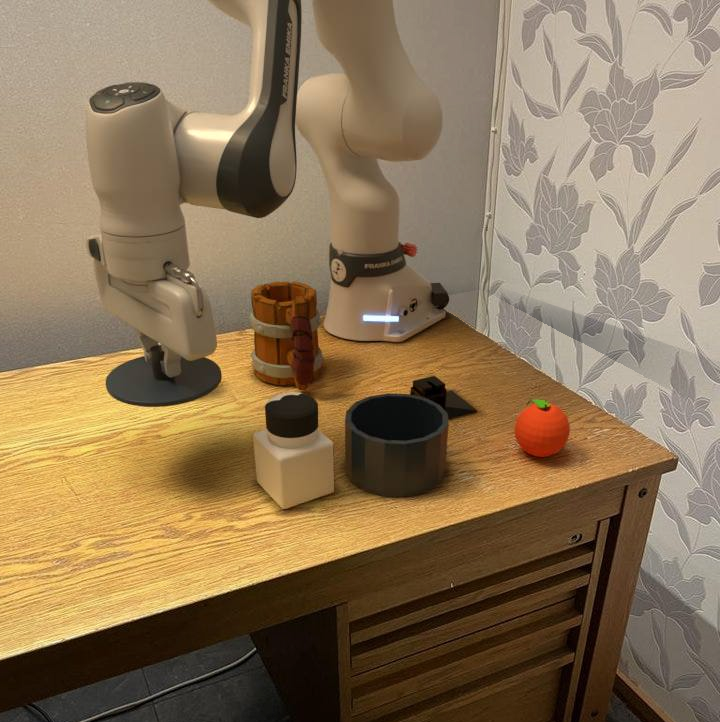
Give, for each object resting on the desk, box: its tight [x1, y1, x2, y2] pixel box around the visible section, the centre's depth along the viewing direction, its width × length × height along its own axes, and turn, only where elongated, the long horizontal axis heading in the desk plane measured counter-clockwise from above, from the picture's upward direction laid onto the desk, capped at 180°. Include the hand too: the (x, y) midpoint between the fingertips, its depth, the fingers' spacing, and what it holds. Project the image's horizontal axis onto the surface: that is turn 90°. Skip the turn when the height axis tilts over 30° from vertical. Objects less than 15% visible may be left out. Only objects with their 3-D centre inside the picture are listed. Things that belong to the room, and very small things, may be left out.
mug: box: [249, 280, 325, 391], centre depth 118 cm, size 11×16×15 cm, turn 20°
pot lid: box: [105, 345, 223, 408], centre depth 94 cm, size 13×13×5 cm
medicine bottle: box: [252, 391, 335, 510], centre depth 94 cm, size 7×7×12 cm
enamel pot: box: [344, 392, 450, 498], centre depth 98 cm, size 12×12×8 cm
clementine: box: [514, 398, 571, 458], centre depth 102 cm, size 8×7×7 cm
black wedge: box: [409, 375, 478, 421], centre depth 112 cm, size 12×7×5 cm, turn 117°
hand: (163, 368), depth 94 cm, fingers closed on pot lid, 2 cm apart
